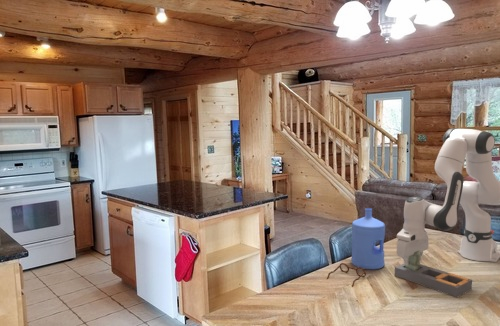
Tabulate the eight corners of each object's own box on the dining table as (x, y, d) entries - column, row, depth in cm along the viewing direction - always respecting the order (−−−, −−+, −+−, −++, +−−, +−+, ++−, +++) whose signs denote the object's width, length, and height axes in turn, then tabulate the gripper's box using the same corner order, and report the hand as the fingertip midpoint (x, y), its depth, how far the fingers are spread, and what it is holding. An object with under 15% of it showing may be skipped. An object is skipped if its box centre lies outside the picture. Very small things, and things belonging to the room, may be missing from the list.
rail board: (410, 269, 184) (410, 260, 184) (471, 289, 162) (472, 279, 161) (394, 275, 177) (394, 266, 176) (456, 297, 154) (457, 287, 154)
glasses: (366, 279, 175) (366, 268, 174) (352, 288, 165) (352, 277, 165) (340, 271, 184) (340, 261, 183) (325, 280, 174) (325, 269, 174)
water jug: (349, 267, 187) (350, 211, 184) (353, 257, 202) (354, 204, 199) (383, 272, 181) (384, 213, 178) (385, 260, 196) (386, 206, 193)
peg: (410, 273, 180) (411, 247, 178) (419, 276, 176) (420, 250, 175) (405, 275, 177) (405, 249, 176) (414, 278, 173) (414, 252, 172)
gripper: (419, 227, 183) (418, 255, 184) (394, 235, 171) (393, 265, 172) (432, 230, 178) (431, 259, 179) (407, 238, 166) (406, 269, 167)
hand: (412, 262), depth 176 cm, fingers open, 8 cm apart
